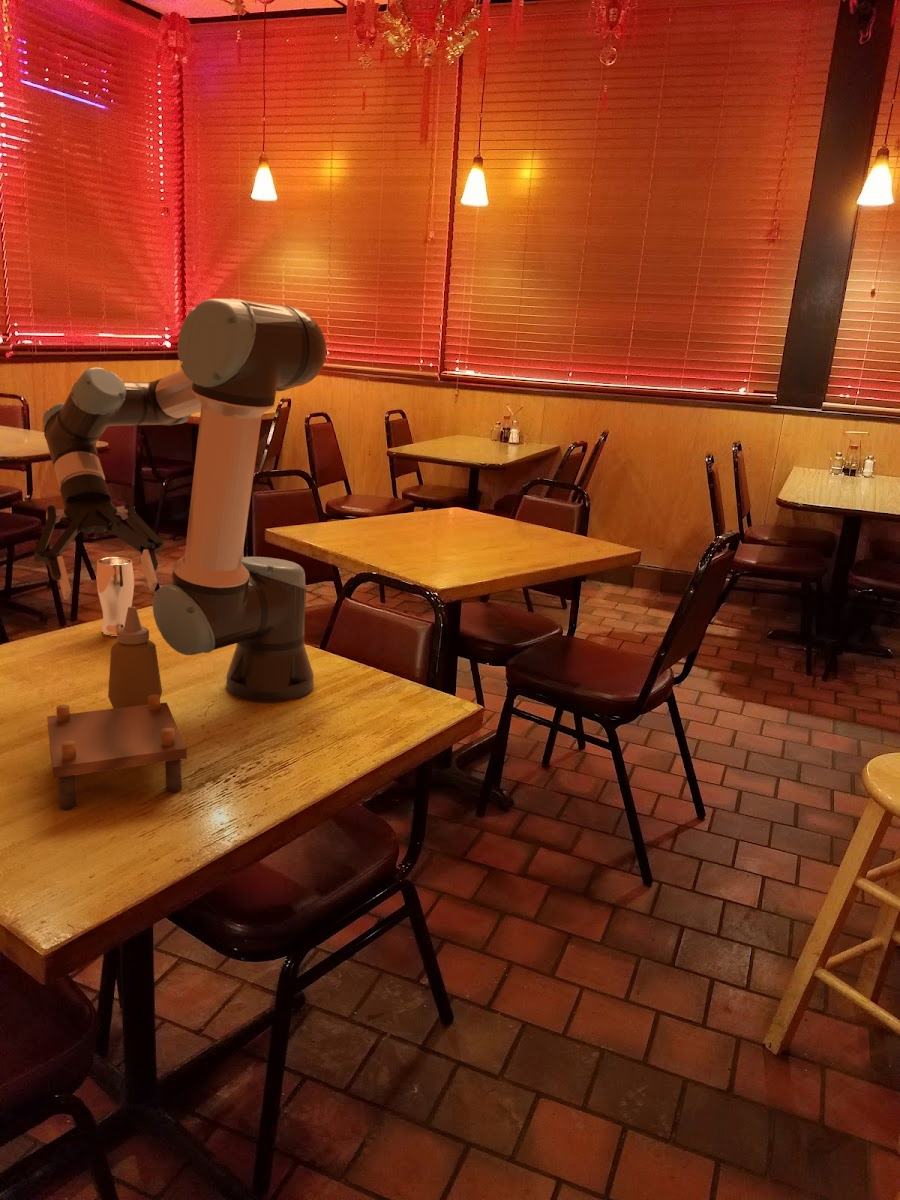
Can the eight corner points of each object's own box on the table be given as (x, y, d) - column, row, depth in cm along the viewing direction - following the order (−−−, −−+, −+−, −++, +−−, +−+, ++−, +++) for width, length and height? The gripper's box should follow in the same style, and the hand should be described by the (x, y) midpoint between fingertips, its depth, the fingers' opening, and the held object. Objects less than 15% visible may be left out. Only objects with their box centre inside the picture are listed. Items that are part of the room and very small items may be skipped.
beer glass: (114, 639, 167) (110, 566, 163) (92, 632, 170) (88, 560, 166) (143, 631, 173) (140, 561, 168) (121, 624, 176) (118, 555, 172)
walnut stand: (167, 742, 126) (166, 689, 123) (187, 792, 112) (186, 734, 110) (50, 758, 118) (46, 703, 116) (55, 814, 105) (51, 752, 103)
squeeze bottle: (134, 701, 139) (130, 597, 134) (173, 711, 136) (170, 605, 131) (97, 718, 132) (91, 609, 127) (138, 730, 129) (133, 618, 124)
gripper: (151, 494, 154) (181, 593, 147) (0, 500, 140) (26, 611, 132) (160, 470, 149) (192, 571, 141) (3, 473, 134) (30, 587, 127)
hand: (112, 590), depth 137 cm, fingers open, 13 cm apart
